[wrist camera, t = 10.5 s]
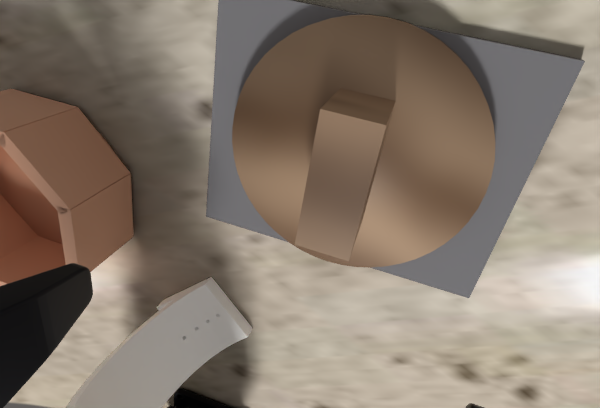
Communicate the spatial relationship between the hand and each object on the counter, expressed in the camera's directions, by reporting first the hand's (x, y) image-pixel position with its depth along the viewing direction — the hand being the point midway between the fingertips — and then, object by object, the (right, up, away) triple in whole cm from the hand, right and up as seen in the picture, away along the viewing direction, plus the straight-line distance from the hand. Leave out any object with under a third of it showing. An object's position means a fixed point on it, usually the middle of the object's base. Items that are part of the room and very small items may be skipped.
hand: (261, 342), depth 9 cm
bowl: (-15, +5, +17) cm, 23 cm away
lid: (+4, +6, +11) cm, 12 cm away
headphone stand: (-6, -4, +20) cm, 21 cm away
